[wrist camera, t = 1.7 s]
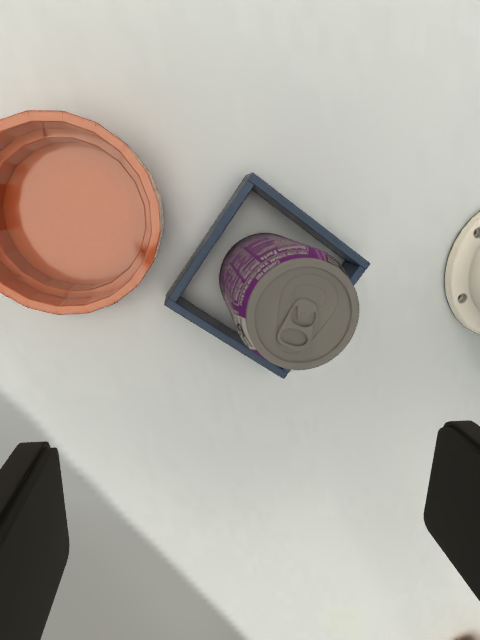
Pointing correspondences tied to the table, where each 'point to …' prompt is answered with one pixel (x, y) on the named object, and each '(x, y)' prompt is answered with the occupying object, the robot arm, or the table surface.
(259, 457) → the table surface
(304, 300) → the beverage can
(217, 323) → the blue square frame
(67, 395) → the table surface
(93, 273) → the bowl
